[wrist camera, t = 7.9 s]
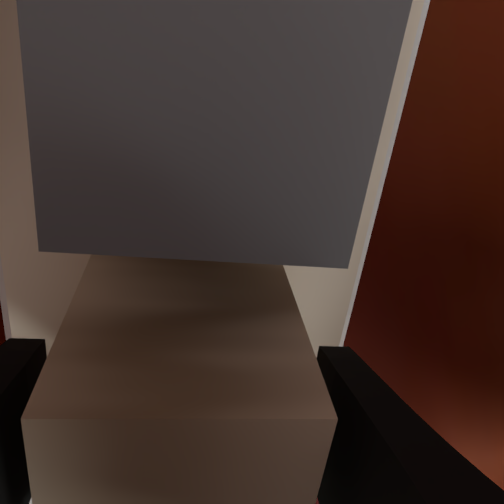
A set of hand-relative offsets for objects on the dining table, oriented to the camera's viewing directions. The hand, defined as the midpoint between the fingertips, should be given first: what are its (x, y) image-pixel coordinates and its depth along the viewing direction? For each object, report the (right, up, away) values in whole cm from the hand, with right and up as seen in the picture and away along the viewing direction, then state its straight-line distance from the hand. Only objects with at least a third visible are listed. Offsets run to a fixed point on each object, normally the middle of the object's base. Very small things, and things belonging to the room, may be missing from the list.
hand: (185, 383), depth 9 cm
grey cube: (0, +6, 0) cm, 6 cm away
